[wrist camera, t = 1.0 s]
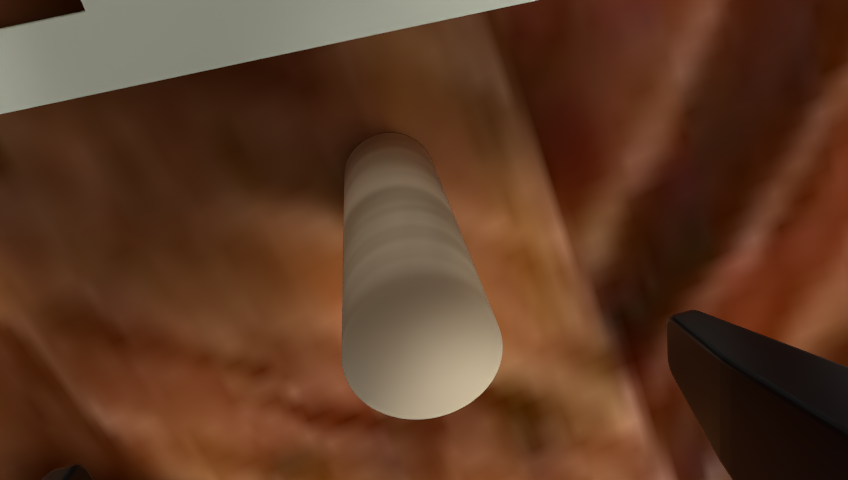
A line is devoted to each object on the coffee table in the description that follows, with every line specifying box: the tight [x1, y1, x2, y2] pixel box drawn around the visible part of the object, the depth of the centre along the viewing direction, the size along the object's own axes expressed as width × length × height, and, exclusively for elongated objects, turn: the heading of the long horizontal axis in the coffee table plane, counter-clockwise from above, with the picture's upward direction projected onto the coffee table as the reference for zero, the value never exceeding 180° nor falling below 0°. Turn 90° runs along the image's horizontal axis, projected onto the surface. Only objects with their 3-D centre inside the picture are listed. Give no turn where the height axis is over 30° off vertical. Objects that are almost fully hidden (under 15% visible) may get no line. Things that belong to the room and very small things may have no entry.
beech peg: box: [342, 133, 503, 419], centre depth 16 cm, size 3×3×10 cm
